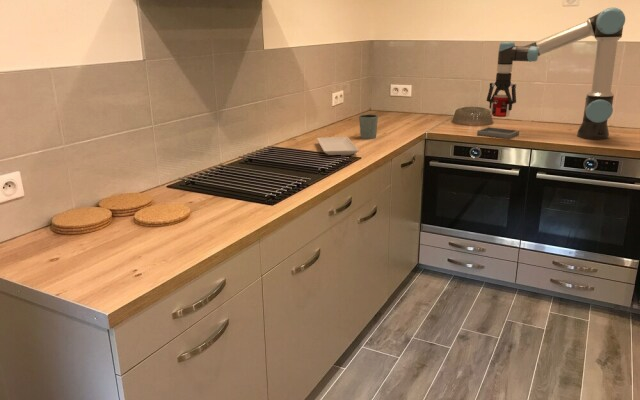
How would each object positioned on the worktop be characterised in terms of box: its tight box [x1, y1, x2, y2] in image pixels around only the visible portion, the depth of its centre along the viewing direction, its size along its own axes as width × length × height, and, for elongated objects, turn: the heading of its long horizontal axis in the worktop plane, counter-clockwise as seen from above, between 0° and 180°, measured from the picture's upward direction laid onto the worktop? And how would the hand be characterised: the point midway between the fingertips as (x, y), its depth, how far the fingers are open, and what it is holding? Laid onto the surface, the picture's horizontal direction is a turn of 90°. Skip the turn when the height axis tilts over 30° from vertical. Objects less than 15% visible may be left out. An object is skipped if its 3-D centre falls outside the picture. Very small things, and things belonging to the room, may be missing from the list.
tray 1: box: [316, 136, 360, 156], centre depth 260 cm, size 17×32×4 cm, turn 7°
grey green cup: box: [358, 113, 379, 140], centre depth 284 cm, size 10×10×12 cm
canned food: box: [491, 94, 509, 118], centre depth 283 cm, size 8×8×11 cm
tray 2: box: [476, 126, 520, 140], centre depth 288 cm, size 18×14×2 cm
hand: (499, 115), depth 285 cm, fingers closed on canned food, 8 cm apart
